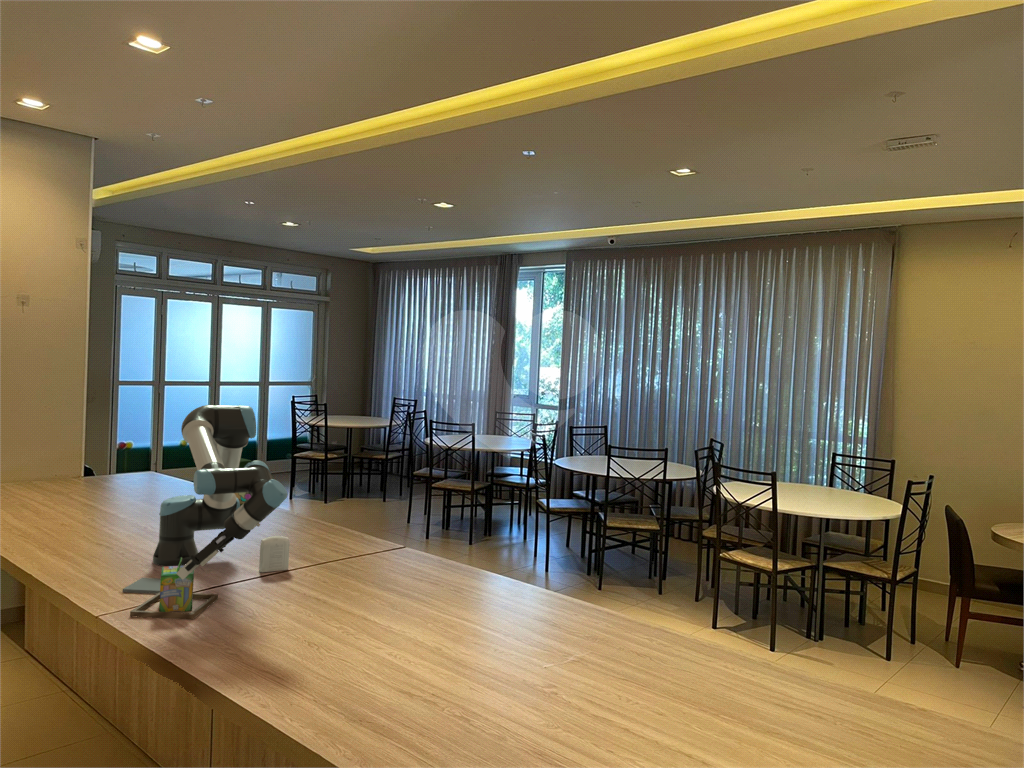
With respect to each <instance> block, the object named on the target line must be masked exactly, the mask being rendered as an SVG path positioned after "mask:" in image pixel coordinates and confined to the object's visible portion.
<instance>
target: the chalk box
mask: <svg viewBox="0 0 1024 768" xmlns="http://www.w3.org/2000/svg"><path fill="white" fill-rule="evenodd" d="M181 563H182V557H181V559H180V562H179V565H178V566H161V573H160V579H161V582H160V599H159V607H158V612H179V613H182V612H193V611H192V610H193V602H194V599H193V593H194V581H195V580H194V578H195V569H194V570H193V571H192V572H191V573H190V574H189V575H188V576H187V577H186V578H184V579H183V580H182V579H181V578H180V577H179V576H178V575H177V574H176V573H177V572H178V571H179V570H180V569H181V568H182V567H183V566H184V565H181Z"/></svg>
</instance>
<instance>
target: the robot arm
mask: <svg viewBox="0 0 1024 768" xmlns="http://www.w3.org/2000/svg"><path fill="white" fill-rule="evenodd" d="M180 430H181V436H182V438H183V440H184V441H185V442H186V443H187V444H188V446H189V449H190V452H191V455H192V458H193V462H194V463H195V466H196V470H195V472H194V474H193V491H194V493H195V494H196V495H200V496H202V497H203V498H196V496H195V495H193V494H189V495H186V494H185V495H177V496H172V497H169V498H167V499H164V500H163V501H162V502H161V504H160V508H159V509H160V510H159V535H158V542H157V545H156V547H155V549H154V552H153V555H152V563H153V565H156V566H161V567H166V566H178V565H179V562H180V559H181V557H182V563H181V566H183V567H182V568H181V569H180V570H179V571H178V572H177V573H176V574H177V575H178V576H179V577H180V578H181V579H182V580H183V579H184V578H186V577H187V576H188V575H189V574H190V573H191V572H192V571H193V570H194V571H195V569H197V568H198V567H199V565H201V567H204V566H205V565H206V564H208V562H210V560H212V559H213V558H214V557H215V556H216V555H218V554H219V553H223V552H224V551H225V548H226V546H227V545H229V544H230V543H231V542H232V541H234V540H235V539H236V540H242V539H245V537H246V536H247V535H248V534H249V533H251V531H252V530H254V529H255V528H256V527H258V528H259V527H260V526H261V522H262V521H264V520H265V519H266V518H267V517H268V516H270V514H272V512H274V511H275V510H276V509H278V508H279V507H280V506H281V505H282V503H283V502H285V500H286V499H287V497H288V496H289V495H288V491H287V489H286V488H285V485H283V484H282V483H281V482H280V481H279V480H276V479H273V476H272V473H271V471H270V469H269V466H268V465H267V464H266V463H265V462H264V461H262V460H252V461H253V462H250V463H248V464H247V465H246V466H245V467H244V468H239V463H240V458H242V452H243V448H245V447H246V446H247V445H248V444H249V439H251V440H252V439H254V438H255V437H256V435H257V419H256V415H255V411H254V409H253V408H252V407H251V406H250V405H241V404H238V405H220V404H219V405H218V404H217V405H215V404H214V405H213V404H206V405H201V406H199V407H196V408H194V409H192V410H191V411H190V412H189V413H188V414H187V415H186V416H185V418H184V419H183V421H182V424H181V428H180ZM245 492H249V493H250V495H251V497H250V498H249V499H248V500H247V501H246V502H245V503H244V504H242V505H241V506H240V502H239V499H238V498H237V497H236V495H235V494H234V493H245ZM212 530H223V531H220V532H219V533H218V535H216V536H215V537H213V539H211V541H210V542H209V543H208V544H207V545H205V547H204V548H202V549H201V550H200V551H198V548H197V544H196V540H195V532H198V531H212ZM185 564H186V565H185Z"/></svg>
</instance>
